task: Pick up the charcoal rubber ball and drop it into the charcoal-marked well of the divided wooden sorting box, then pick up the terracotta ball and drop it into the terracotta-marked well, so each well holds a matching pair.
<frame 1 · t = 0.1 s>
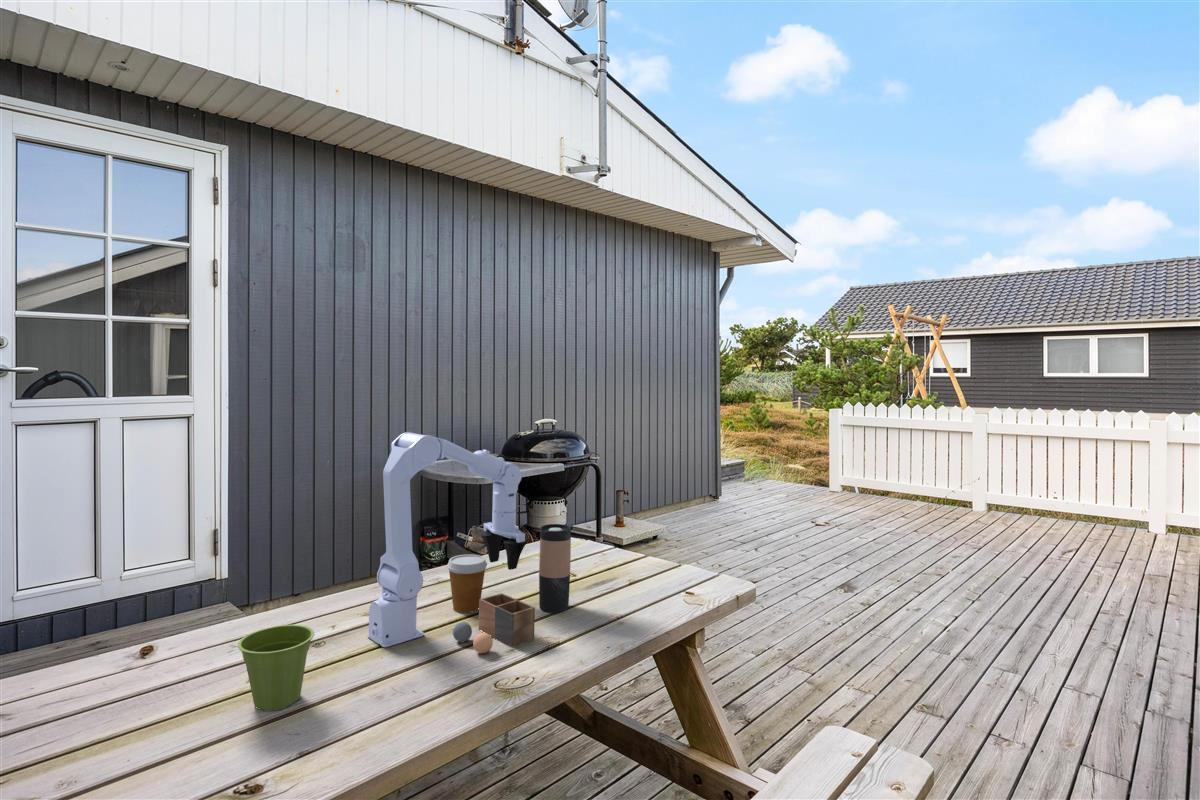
hand: (503, 565, 160), 10 cm above the table, tool pointing down, fingers open, 7 cm apart
travel mug: (553, 608, 159), on the table
plant pot: (276, 702, 112), on the table
disposable coffee cup: (466, 608, 158), on the table
charcoal ball in well: (514, 638, 141), resting in divided wooden sorting box
charcoal ball: (462, 641, 139), on the table
divided wooden sorting box: (505, 634, 143), on the table
terracotta ball: (482, 652, 134), on the table
terracotta ball in well: (498, 630, 145), resting in divided wooden sorting box
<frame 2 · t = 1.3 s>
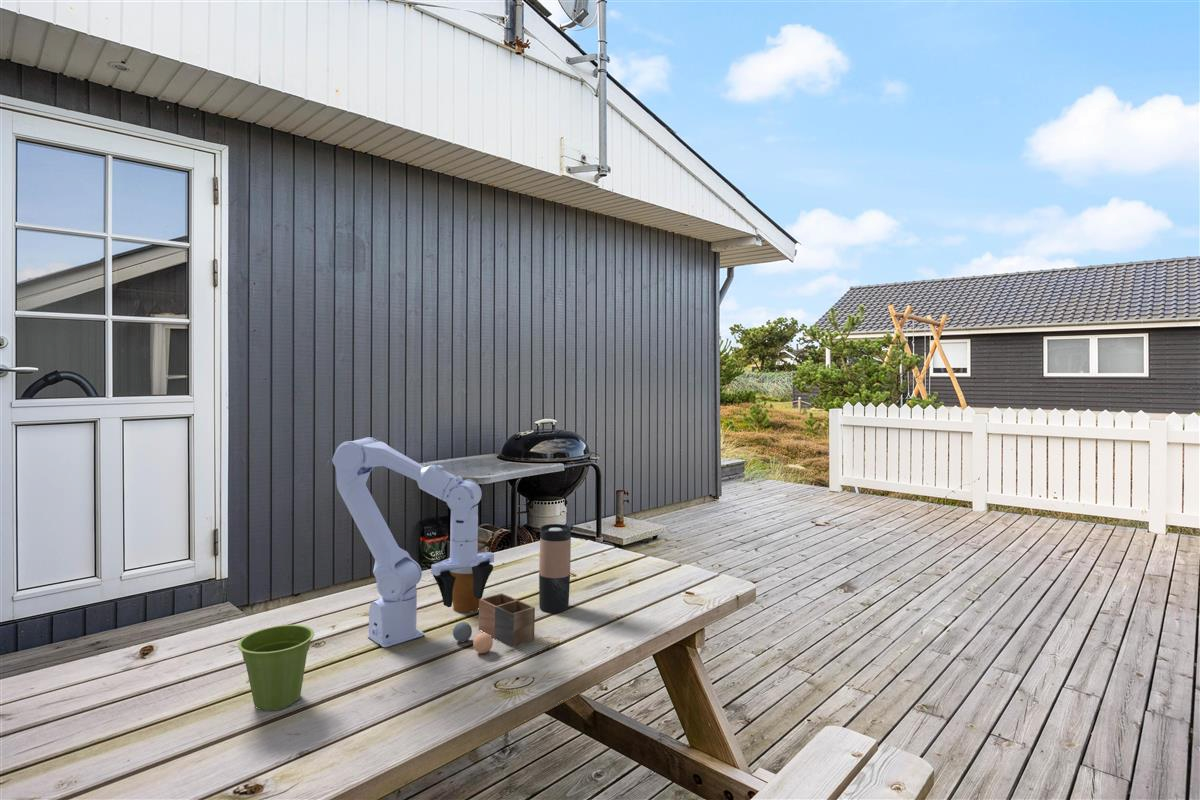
hand: (463, 601, 138), 9 cm above the table, tool pointing down, fingers open, 7 cm apart
nothing on the table moved.
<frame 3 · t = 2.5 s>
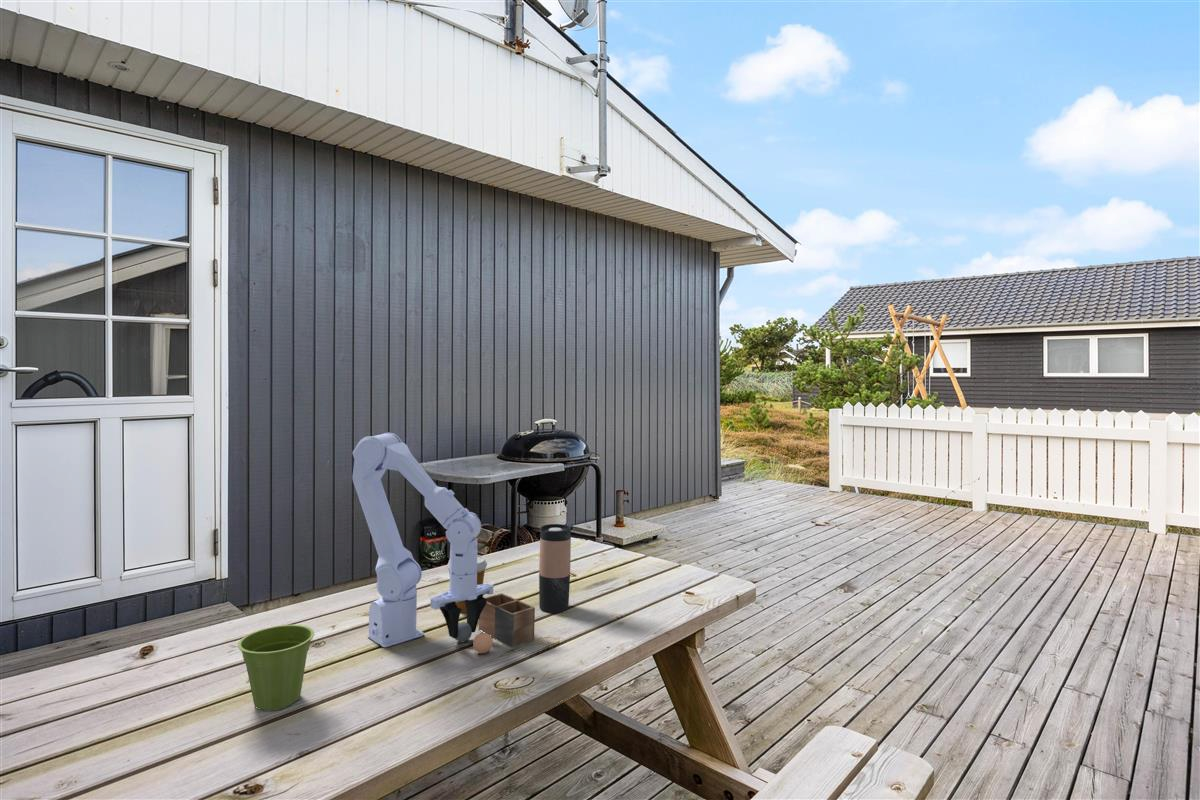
hand: (462, 633, 139), 2 cm above the table, tool pointing down, fingers closed on charcoal ball, 4 cm apart
charcoal ball: (462, 641, 139), on the table, touching gripper
everything else where it was.
when the fingers open (9 cm above the table, at t = 4.5 s): charcoal ball drops 3 cm and tips over, resting on charcoal ball in well, divided wooden sorting box.
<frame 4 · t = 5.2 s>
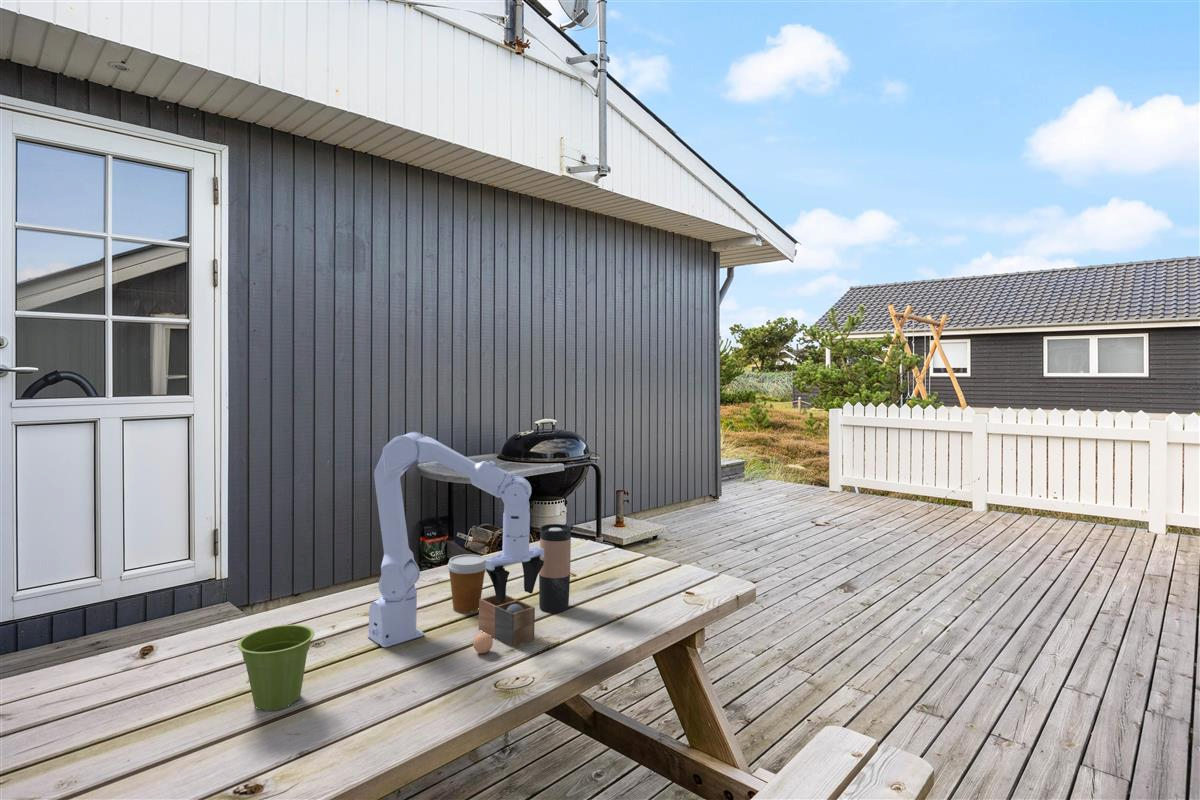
hand: (514, 596, 140), 9 cm above the table, tool pointing down, fingers open, 7 cm apart
charcoal ball in well: (514, 638, 141), resting in divided wooden sorting box, tilted 17°, touching charcoal ball
charcoal ball: (511, 616, 141), point 5 cm above the table, tilted 51°, touching charcoal ball in well, divided wooden sorting box
everything else where it was.
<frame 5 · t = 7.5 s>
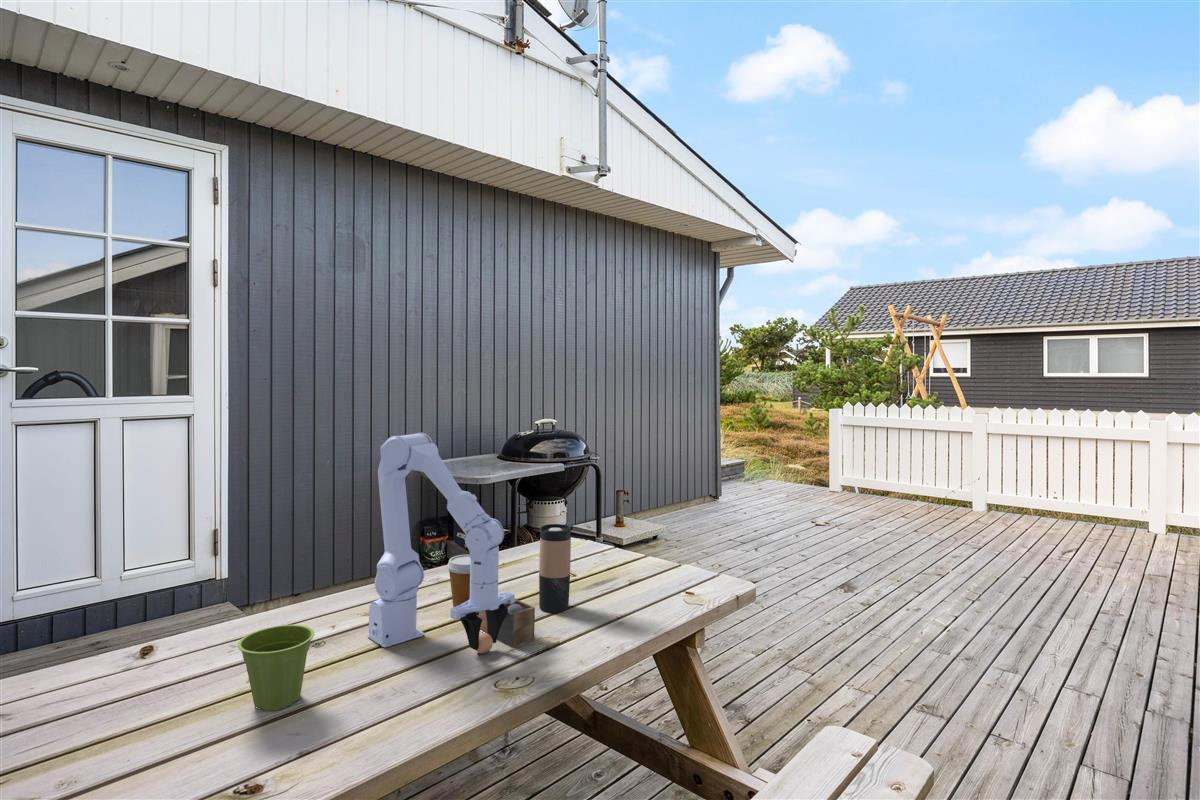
hand: (482, 644, 133), 2 cm above the table, tool pointing down, fingers closed on terracotta ball, 4 cm apart
terracotta ball: (482, 652, 134), on the table, touching gripper
everything else where it was.
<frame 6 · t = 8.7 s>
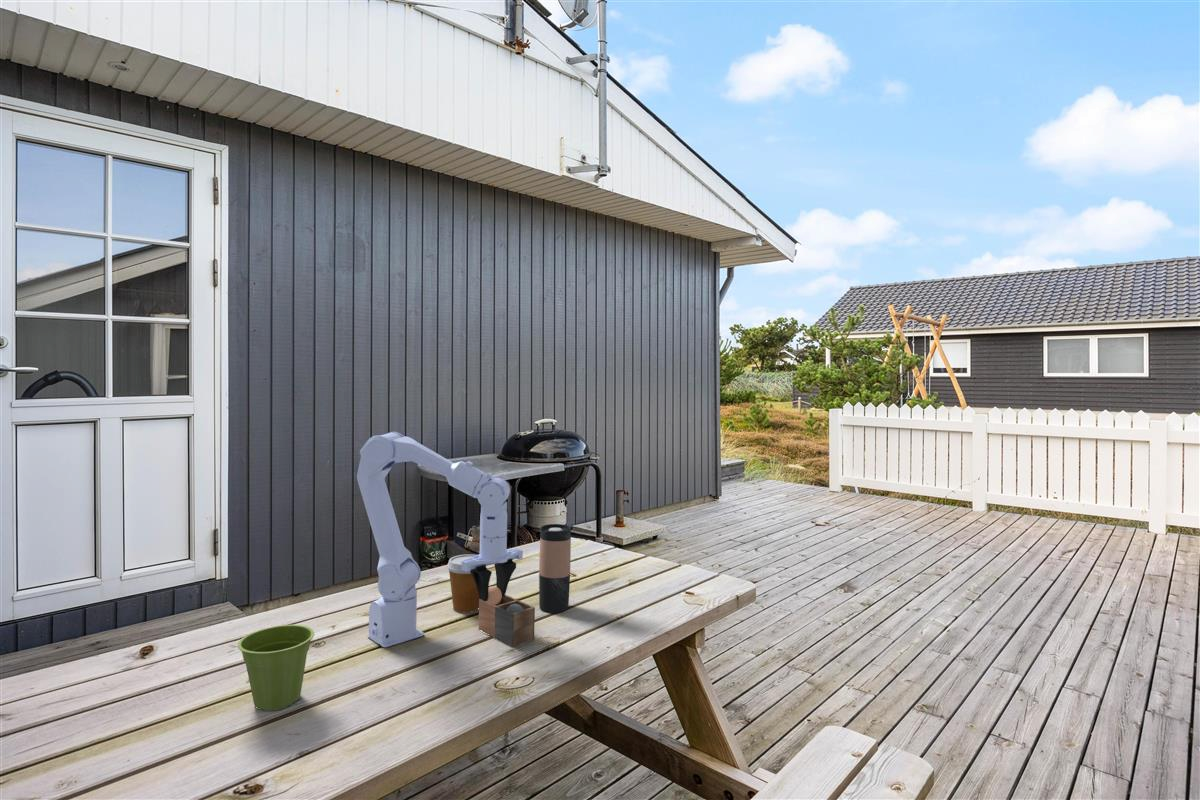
hand: (492, 597, 139), 9 cm above the table, tool pointing down, fingers closed on terracotta ball, 4 cm apart
terracotta ball: (492, 605, 139), point 8 cm above the table, touching gripper
everything else where it was.
when the fingers open (9 cm above the table, at t = 9.4 s): terracotta ball drops 3 cm and tips over, resting on terracotta ball in well, divided wooden sorting box.
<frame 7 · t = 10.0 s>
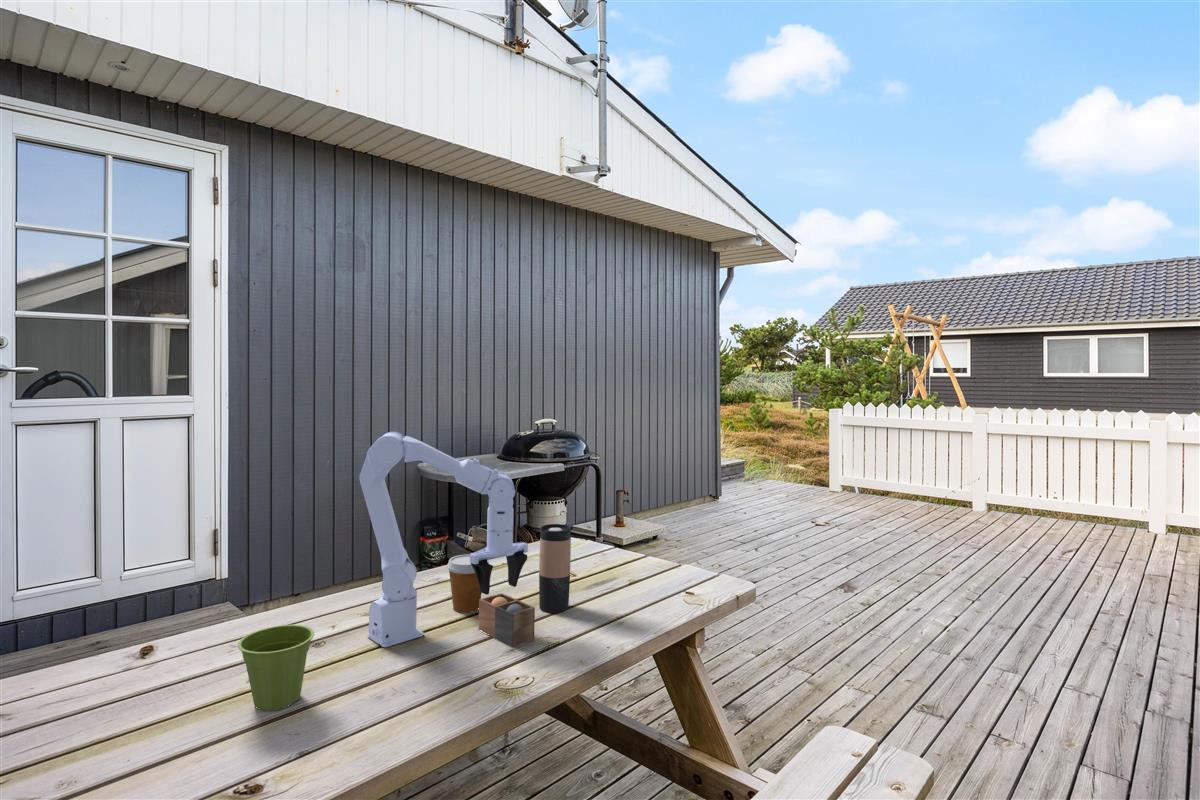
hand: (499, 589, 144), 9 cm above the table, tool pointing down, fingers open, 7 cm apart
terracotta ball: (495, 609, 145), point 4 cm above the table, tilted 50°, touching terracotta ball in well, divided wooden sorting box
terracotta ball in well: (498, 630, 145), resting in divided wooden sorting box, tilted 17°, touching terracotta ball
everything else where it was.
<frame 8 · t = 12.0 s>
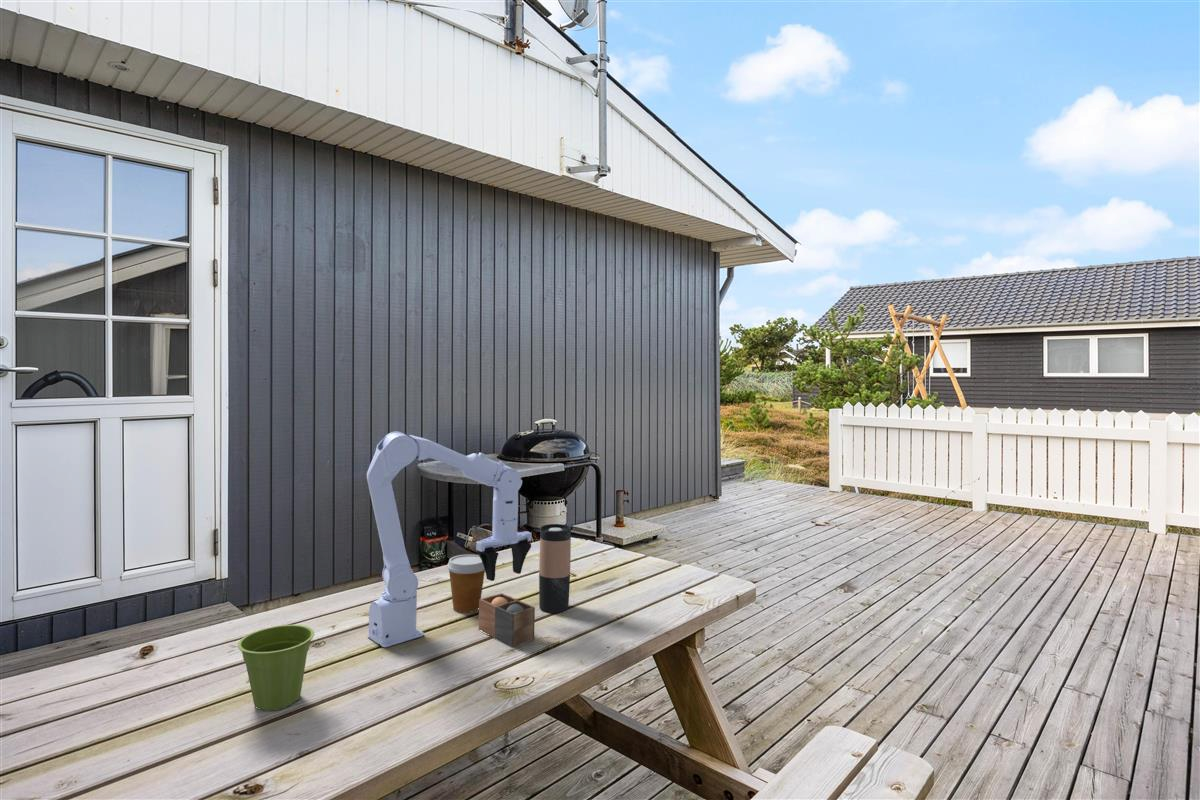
hand: (503, 576, 150), 10 cm above the table, tool pointing down, fingers open, 7 cm apart
nothing on the table moved.
at the end: charcoal ball 1.0 cm from the target spot on the divided wooden sorting box, point 4.5 cm above the divided wooden sorting box's base; terracotta ball 1.0 cm from the target spot on the divided wooden sorting box, point 4.5 cm above the divided wooden sorting box's base; the gripper is holding nothing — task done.
